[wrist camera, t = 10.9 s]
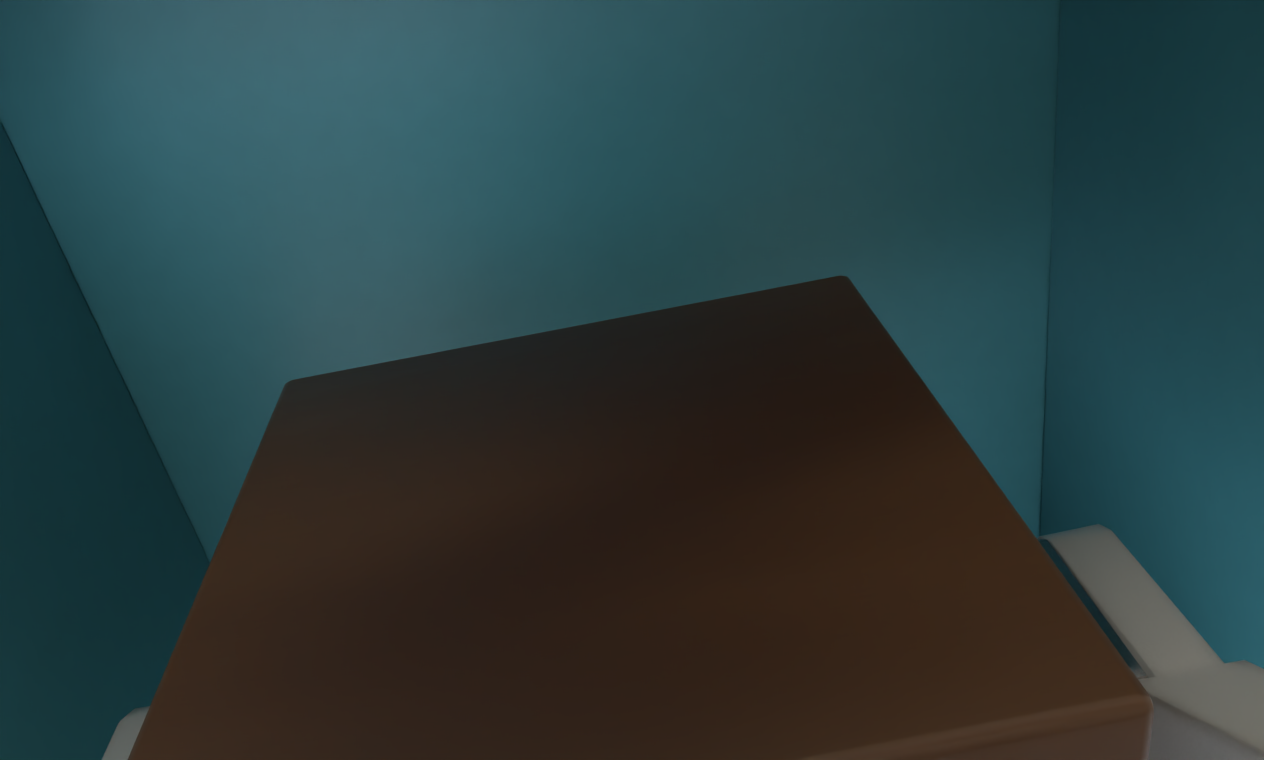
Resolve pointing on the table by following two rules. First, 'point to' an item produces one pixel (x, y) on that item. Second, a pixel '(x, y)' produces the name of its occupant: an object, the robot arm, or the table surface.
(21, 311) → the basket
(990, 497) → the block
